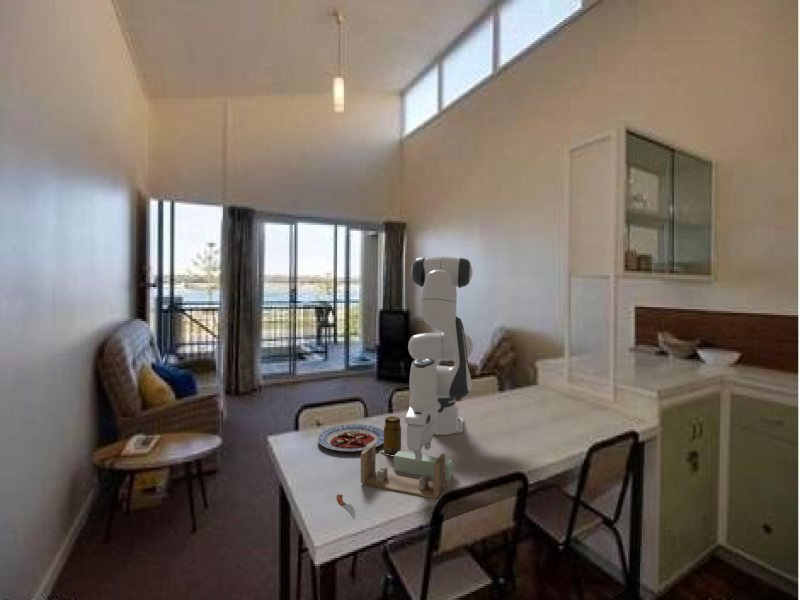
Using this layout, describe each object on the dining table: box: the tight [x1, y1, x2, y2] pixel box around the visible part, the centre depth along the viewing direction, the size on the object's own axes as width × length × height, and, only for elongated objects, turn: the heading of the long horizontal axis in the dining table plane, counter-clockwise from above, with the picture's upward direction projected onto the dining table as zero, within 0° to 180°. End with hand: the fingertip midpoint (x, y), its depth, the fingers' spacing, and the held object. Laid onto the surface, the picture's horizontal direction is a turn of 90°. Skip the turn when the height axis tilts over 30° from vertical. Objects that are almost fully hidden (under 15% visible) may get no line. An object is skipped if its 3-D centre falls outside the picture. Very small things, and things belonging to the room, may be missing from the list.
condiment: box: [378, 415, 411, 459], centre depth 151 cm, size 7×8×12 cm
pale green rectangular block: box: [393, 451, 453, 482], centre depth 136 cm, size 4×18×5 cm, turn 67°
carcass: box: [360, 443, 446, 500], centre depth 127 cm, size 8×24×10 cm, turn 70°
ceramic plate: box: [317, 423, 384, 452], centre depth 161 cm, size 26×26×3 cm
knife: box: [336, 493, 358, 520], centre depth 116 cm, size 13×1×3 cm
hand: (423, 454), depth 135 cm, fingers open, 8 cm apart
